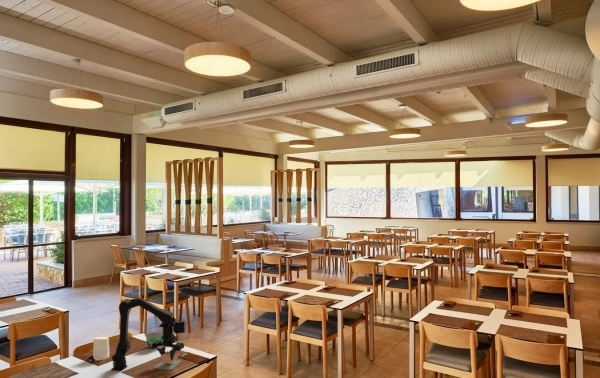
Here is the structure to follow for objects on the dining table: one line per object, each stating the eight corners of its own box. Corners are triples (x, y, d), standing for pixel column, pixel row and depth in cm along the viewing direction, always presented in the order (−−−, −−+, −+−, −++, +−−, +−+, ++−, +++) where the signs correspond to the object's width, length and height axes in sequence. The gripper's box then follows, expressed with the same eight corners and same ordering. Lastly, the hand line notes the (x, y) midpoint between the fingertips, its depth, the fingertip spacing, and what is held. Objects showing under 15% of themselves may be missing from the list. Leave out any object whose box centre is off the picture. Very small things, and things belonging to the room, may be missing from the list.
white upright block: (112, 354, 258) (111, 335, 258) (104, 360, 249) (103, 341, 249) (98, 354, 259) (98, 335, 259) (90, 360, 250) (89, 340, 250)
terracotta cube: (162, 363, 239) (161, 354, 239) (166, 359, 244) (166, 351, 244) (169, 363, 238) (169, 355, 238) (174, 360, 243) (174, 351, 243)
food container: (145, 350, 263) (144, 335, 263) (145, 347, 269) (144, 332, 269) (165, 347, 268) (164, 332, 268) (164, 344, 273) (164, 329, 273)
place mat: (153, 368, 237) (153, 367, 237) (165, 360, 248) (165, 359, 248) (171, 370, 234) (171, 369, 234) (182, 361, 245) (182, 360, 245)
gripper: (188, 330, 246) (189, 355, 246) (161, 328, 251) (162, 353, 251) (178, 336, 236) (179, 363, 236) (150, 334, 240) (151, 360, 240)
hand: (168, 359), depth 241 cm, fingers closed on terracotta cube, 5 cm apart
